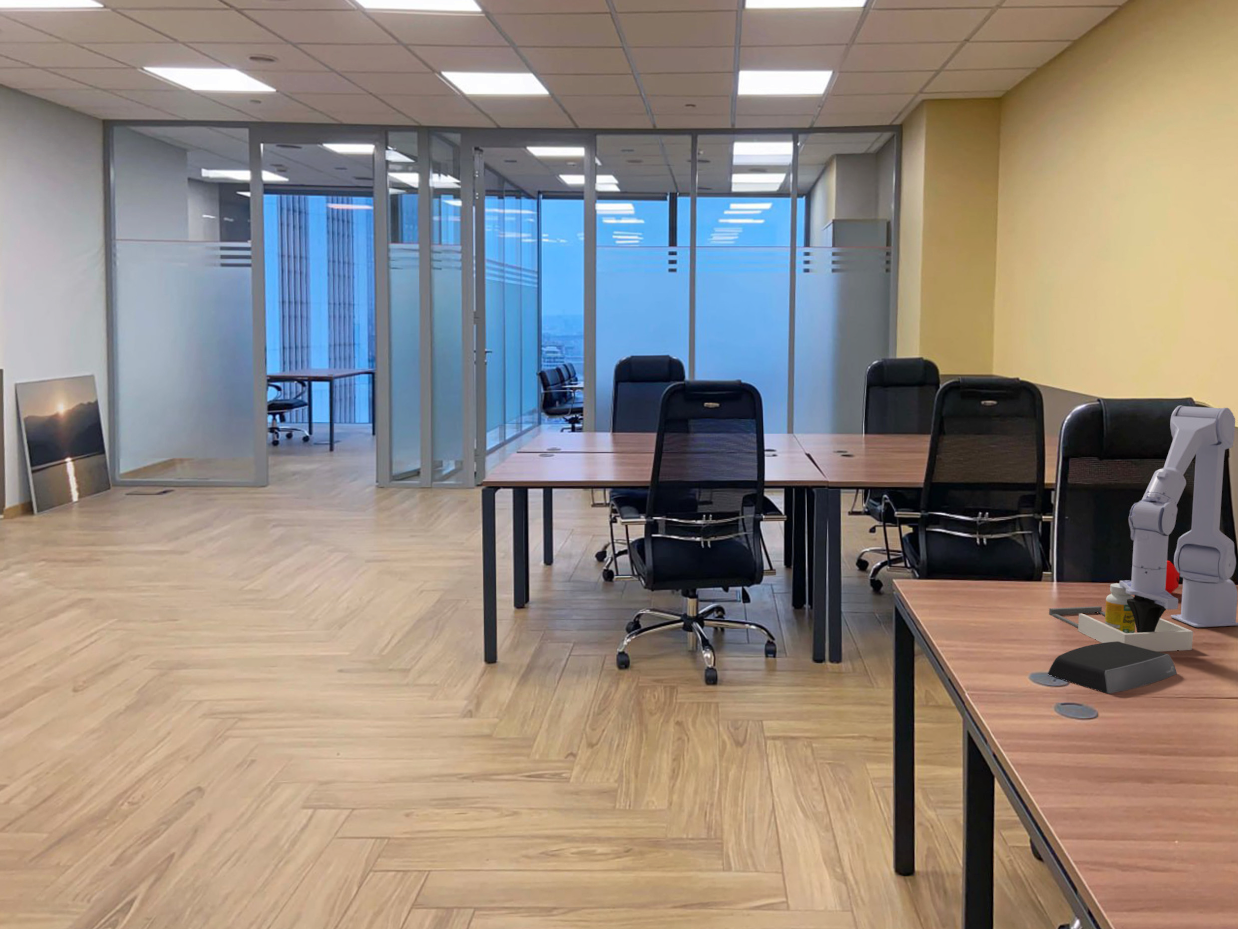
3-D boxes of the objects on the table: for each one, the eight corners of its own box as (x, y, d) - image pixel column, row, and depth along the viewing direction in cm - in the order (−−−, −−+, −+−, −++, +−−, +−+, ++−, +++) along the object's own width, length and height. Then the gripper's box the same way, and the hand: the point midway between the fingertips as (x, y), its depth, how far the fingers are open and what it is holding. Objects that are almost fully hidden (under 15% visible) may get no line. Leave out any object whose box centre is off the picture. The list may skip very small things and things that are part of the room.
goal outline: (1099, 611, 228) (1099, 606, 227) (1129, 625, 217) (1129, 619, 217) (1049, 614, 226) (1049, 608, 226) (1077, 627, 216) (1077, 621, 216)
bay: (1141, 628, 215) (1142, 610, 215) (1191, 649, 201) (1193, 631, 201) (1078, 631, 213) (1078, 613, 213) (1123, 653, 199) (1124, 634, 198)
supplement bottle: (1114, 628, 215) (1117, 580, 214) (1140, 635, 211) (1143, 586, 210) (1098, 632, 212) (1100, 584, 211) (1124, 639, 208) (1126, 590, 207)
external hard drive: (1181, 677, 187) (1182, 654, 186) (1111, 698, 177) (1113, 673, 176) (1112, 658, 198) (1113, 636, 197) (1042, 676, 188) (1043, 653, 187)
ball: (1182, 598, 239) (1184, 563, 238) (1145, 598, 239) (1147, 563, 238) (1165, 589, 247) (1167, 556, 246) (1129, 589, 247) (1131, 556, 246)
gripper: (1106, 558, 208) (1102, 628, 210) (1154, 575, 194) (1149, 650, 196) (1140, 557, 209) (1136, 626, 211) (1190, 574, 195) (1185, 648, 197)
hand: (1145, 637), depth 204 cm, fingers closed
